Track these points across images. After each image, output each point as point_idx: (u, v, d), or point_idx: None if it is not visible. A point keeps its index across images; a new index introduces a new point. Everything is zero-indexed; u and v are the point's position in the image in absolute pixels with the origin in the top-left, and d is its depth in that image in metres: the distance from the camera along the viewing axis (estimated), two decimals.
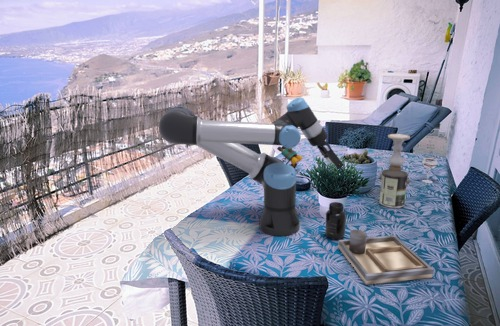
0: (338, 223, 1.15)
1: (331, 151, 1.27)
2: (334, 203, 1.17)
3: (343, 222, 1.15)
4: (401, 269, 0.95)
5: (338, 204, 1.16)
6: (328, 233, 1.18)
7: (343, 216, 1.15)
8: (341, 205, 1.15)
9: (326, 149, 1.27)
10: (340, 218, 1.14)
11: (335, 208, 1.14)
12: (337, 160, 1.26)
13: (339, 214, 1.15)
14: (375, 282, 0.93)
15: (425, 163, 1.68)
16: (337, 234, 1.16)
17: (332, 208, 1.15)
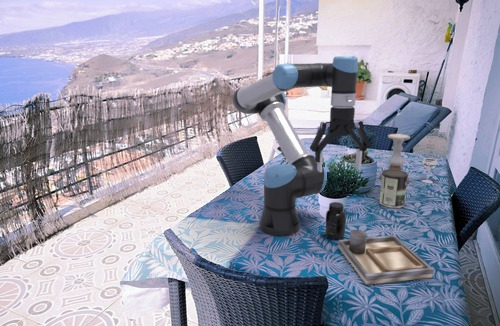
0: (338, 223, 1.15)
1: (320, 130, 1.07)
2: (334, 203, 1.17)
3: (343, 222, 1.15)
4: (401, 269, 0.95)
5: (338, 204, 1.16)
6: (328, 233, 1.18)
7: (343, 216, 1.15)
8: (341, 205, 1.15)
9: (320, 125, 1.08)
10: (340, 218, 1.14)
11: (335, 208, 1.14)
12: (314, 141, 1.08)
13: (339, 214, 1.15)
14: (375, 282, 0.93)
15: (425, 163, 1.68)
16: (337, 234, 1.16)
17: (332, 208, 1.15)
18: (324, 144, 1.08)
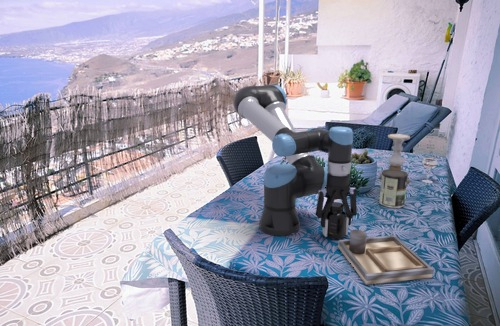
0: (339, 223, 1.15)
1: (320, 199, 1.14)
2: (334, 203, 1.17)
3: (343, 222, 1.15)
4: (401, 269, 0.95)
5: (338, 204, 1.16)
6: (328, 233, 1.18)
7: (343, 216, 1.15)
8: (341, 205, 1.15)
9: (318, 193, 1.15)
10: (340, 218, 1.14)
11: (335, 208, 1.14)
12: (317, 209, 1.15)
13: (339, 214, 1.15)
14: (375, 282, 0.93)
15: (425, 163, 1.68)
16: (337, 234, 1.16)
17: (332, 208, 1.15)
18: (327, 211, 1.15)
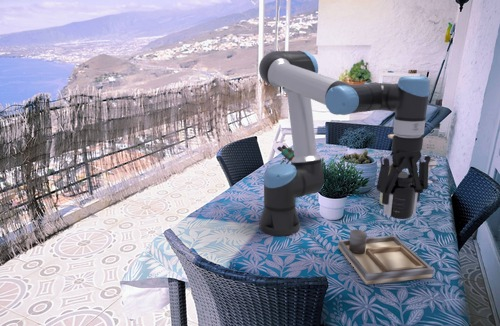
0: (407, 198, 0.92)
1: (384, 168, 0.91)
2: (400, 174, 0.94)
3: (412, 197, 0.92)
4: (401, 269, 0.95)
5: (405, 175, 0.94)
6: (391, 211, 0.95)
7: (412, 190, 0.92)
8: (410, 176, 0.93)
9: (381, 161, 0.92)
10: (409, 192, 0.91)
11: (403, 179, 0.92)
12: (380, 181, 0.93)
13: (408, 186, 0.92)
14: (375, 282, 0.93)
15: None
16: (405, 212, 0.93)
17: (399, 179, 0.92)
18: (392, 183, 0.92)
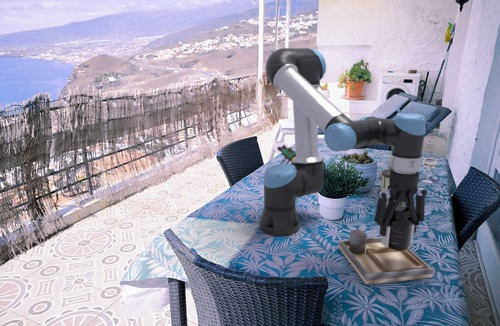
0: (404, 231, 0.94)
1: (381, 201, 0.94)
2: (397, 206, 0.97)
3: (409, 230, 0.95)
4: (401, 269, 0.95)
5: (402, 208, 0.96)
6: (389, 242, 0.97)
7: (409, 223, 0.94)
8: (407, 209, 0.95)
9: (379, 194, 0.95)
10: (406, 225, 0.94)
11: (400, 213, 0.94)
12: (378, 214, 0.95)
13: (405, 219, 0.95)
14: (375, 282, 0.93)
15: (425, 163, 1.68)
16: (402, 244, 0.96)
17: (396, 213, 0.95)
18: (389, 216, 0.95)
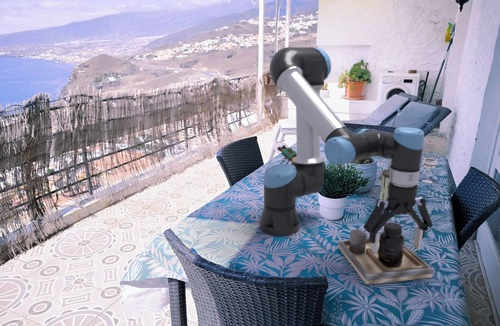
0: (397, 248, 0.96)
1: (377, 210, 0.95)
2: (390, 224, 0.99)
3: (402, 247, 0.97)
4: (401, 269, 0.95)
5: (395, 225, 0.98)
6: (382, 259, 0.99)
7: (402, 240, 0.96)
8: (399, 227, 0.97)
9: (377, 202, 0.95)
10: (399, 243, 0.96)
11: (393, 230, 0.96)
12: (370, 221, 0.96)
13: (398, 237, 0.96)
14: (375, 282, 0.93)
15: (425, 163, 1.68)
16: (395, 261, 0.97)
17: (389, 230, 0.96)
18: (381, 224, 0.95)
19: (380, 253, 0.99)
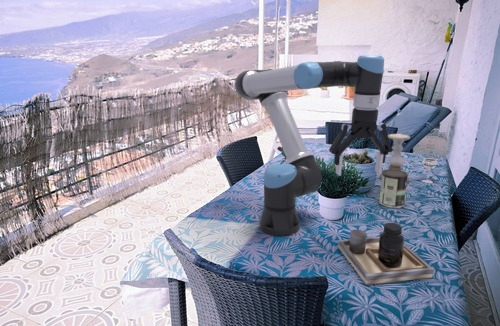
0: (397, 248, 0.96)
1: (341, 132, 1.03)
2: (390, 224, 0.99)
3: (402, 247, 0.97)
4: (401, 269, 0.95)
5: (395, 226, 0.98)
6: (382, 259, 0.99)
7: (402, 241, 0.96)
8: (399, 227, 0.97)
9: (341, 126, 1.04)
10: (399, 243, 0.96)
11: (393, 231, 0.96)
12: (334, 144, 1.04)
13: (398, 237, 0.96)
14: (375, 282, 0.93)
15: (425, 163, 1.68)
16: (395, 261, 0.97)
17: (389, 231, 0.96)
18: (344, 147, 1.04)
19: (380, 253, 0.99)
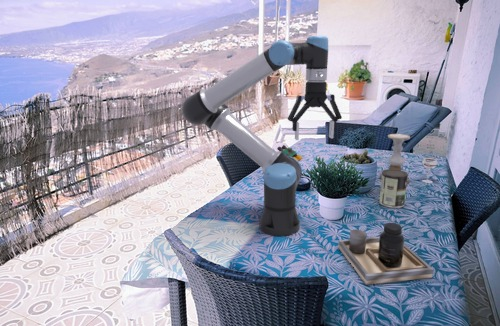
0: (397, 248, 0.96)
1: (296, 102, 1.22)
2: (390, 224, 0.99)
3: (402, 247, 0.97)
4: (401, 269, 0.95)
5: (395, 225, 0.98)
6: (382, 259, 0.99)
7: (402, 241, 0.96)
8: (399, 227, 0.97)
9: (297, 97, 1.23)
10: (399, 243, 0.96)
11: (393, 231, 0.96)
12: (291, 112, 1.23)
13: (398, 237, 0.96)
14: (375, 282, 0.93)
15: (425, 163, 1.68)
16: (395, 261, 0.97)
17: (389, 231, 0.96)
18: (300, 115, 1.23)
19: (380, 253, 0.99)
